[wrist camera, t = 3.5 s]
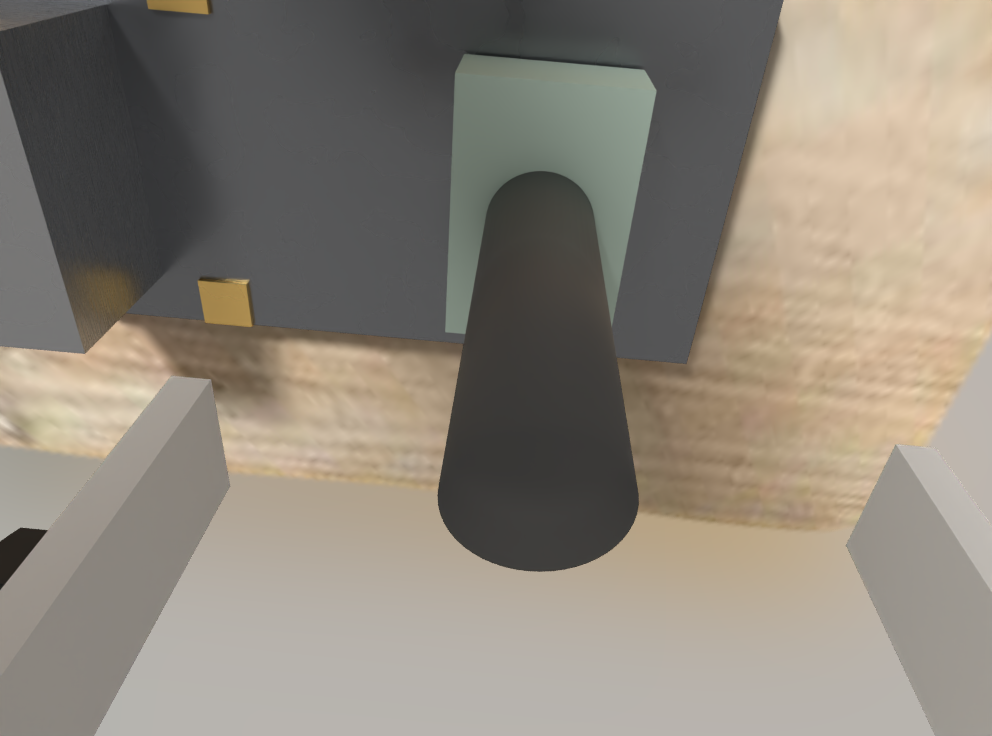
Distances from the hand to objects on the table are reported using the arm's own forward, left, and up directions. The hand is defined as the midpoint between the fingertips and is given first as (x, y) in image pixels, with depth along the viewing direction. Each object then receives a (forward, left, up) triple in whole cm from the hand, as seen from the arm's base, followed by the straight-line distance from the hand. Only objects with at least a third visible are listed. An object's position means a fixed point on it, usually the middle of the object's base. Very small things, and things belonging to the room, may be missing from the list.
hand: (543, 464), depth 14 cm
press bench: (-6, 0, -16) cm, 18 cm away
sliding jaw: (0, 0, -15) cm, 15 cm away
